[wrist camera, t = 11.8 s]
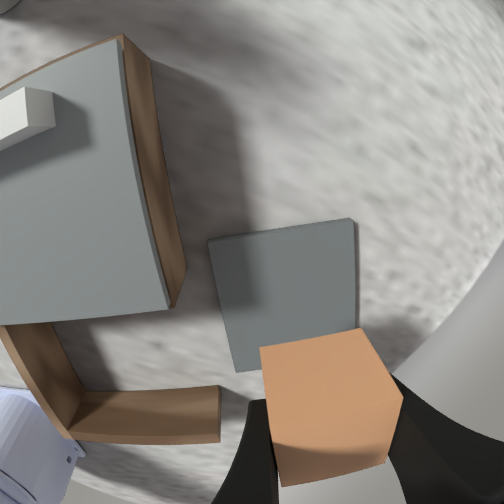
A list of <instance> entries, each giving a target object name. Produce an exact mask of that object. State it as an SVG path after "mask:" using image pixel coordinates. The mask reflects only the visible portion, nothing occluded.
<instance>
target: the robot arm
mask: <svg viewBox="0 0 504 504" xmlns="http://www.w3.org/2000/svg"><path fill="white" fill-rule="evenodd" d="M389 374H390V376H391V377H392V379H393V381H394V382H395V384H396V386H397V387H398V389H399V391H400V392H401V394H402V396H403V401H402V405H401V409H400V413H399V417H398V421H397V424H396V428H395V431H394V435H393V438H392V442H391V445H390V448H389V452H388V456H389V458H390V461H391V462H392V465H393V467H394V469H395V471H396V473H397V476H398V478H399V480H400V484H401V487H402V490H403V493H404V496H405V500H406V503H407V504H504V442H502V441H499V440H495V439H493V438H489V437H487V436H484V435H482V434H480V433H477V432H474V431H472V430H470V429H468V428H466V427H464V426H462V425H460V424H458V423H456V422H455V421H453V420H451V419H450V418H448V417H447V416H445V415H443V414H442V413H440V412H439V411H437V410H436V409H434V408H433V407H432V406H430V405H429V404H428V403H426V402H425V401H424V400H422V399H421V398H420V397H418V396H417V395H416V394H415V393H413V392H412V391H411V390H410V389H408V388H407V387H406V386H405V385H404V384H402V383H401V382H400V381H399V380H398V379H396V378H395V377H394V376H393V375H392V374H391V373H389ZM85 455H86V453H85V452H84V451H83V449H82V448H81V447H80V446H79V444H78V443H77V442H76V441H75V440H74V439H66V438H63V437H62V436H61V434H60V433H59V432H58V430H57V429H56V428H55V426H54V425H53V424H52V422H51V421H50V420H49V418H48V417H47V415H46V414H45V413H44V411H43V410H42V408H41V407H40V405H39V404H38V402H37V401H36V399H35V398H34V396H33V395H32V393H31V392H30V390H27V389H17V388H9V387H1V386H0V504H60V502H61V501H62V500H63V498H64V496H65V493H66V490H67V487H68V484H69V481H70V478H71V476H72V473H73V470H74V467H75V464H76V462H77V459H78V457H85ZM211 504H279V495H278V467H277V462H276V457H275V452H274V447H273V442H272V437H271V432H270V425H269V418H268V410H267V403H266V399H259V400H252V401H250V402H249V406H248V414H247V419H246V424H245V428H244V432H243V435H242V438H241V441H240V445H239V448H238V450H237V453H236V456H235V458H234V461H233V463H232V465H231V468H230V470H229V472H228V474H227V476H226V478H225V480H224V482H223V484H222V486H221V488H220V490H219V492H218V493H217V495H216V497H215V498H214V500H213V501H212V503H211Z"/></svg>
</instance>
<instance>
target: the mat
mask: <svg viewBox="0 0 504 504" xmlns="http://www.w3.org/2000/svg"><path fill="white" fill-rule="evenodd" d="M207 245H208V250H209V255H210V259H211V264H212V269H213V274H214V279H215V283H216V288H217V293H218V297H219V302H220V306H221V311H222V315H223V320H224V324H225V329H226V333H227V337H228V342H229V346H230V350H231V354H232V359H233V363H234V367H235V371H236V373H238V372H245V371H252V370H259V369H262V365H261V357H260V349H259V347H264V346H270V345H276V344H282V343H288V342H294V341H299V340H305V339H310V338H315V337H320V336H325V335H330V334H335V333H340V332H344V331H349V330H353V329H355V247H354V225H353V220H352V219H350V218H346V219H339V220H332V221H325V222H318V223H311V224H305V225H298V226H291V227H285V228H278V229H272V230H265V231H259V232H252V233H246V234H240V235H233V236H227V237H221V238H215V239H209V240H208V242H207Z"/></svg>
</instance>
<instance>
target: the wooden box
mask: <svg viewBox="0 0 504 504" xmlns="http://www.w3.org/2000/svg"><path fill="white" fill-rule="evenodd" d="M114 39H117V40H118V41H120V42H121V45H122V56H123V66H124V75H125V83H126V92H127V99H128V106H129V113H130V120H131V127H132V133H133V139H134V145H135V151H136V156H137V162H138V167H139V172H140V178H141V183H142V188H143V193H144V197H145V202H146V207H147V211H148V216H149V220H150V225H151V229H152V233H153V237H154V242H155V246H156V250H157V254H158V258H159V262H160V265H161V269H162V273H163V277H164V280H165V284H166V288H167V291H168V295H169V298H170V302H171V303H170V306H169V308H174V307H175V304H176V301H177V298H178V295H179V292H180V289H181V286H182V283H183V280H184V277H185V274H186V271H187V265H186V261H185V257H184V252H183V248H182V244H181V239H180V235H179V230H178V225H177V221H176V216H175V211H174V206H173V201H172V196H171V191H170V186H169V181H168V175H167V170H166V164H165V159H164V153H163V147H162V142H161V136H160V129H159V123H158V117H157V110H156V103H155V96H154V89H153V82H152V74H151V66H150V59H149V58H148V57H147V56H146V55H145V54H144V53H143V52H142V51H141V50H140V49H139V48H138V47H137V46H136V45H135V44H134V43H132V42H131V41H130V40H129V39H128V38H127V37H126V36H125V35H124V34H120V35H116V36H113V37H111V38H108V39H105V40H102V41H99V42H96V43H94V44H91V45H88V46H86V47H83V48H81V49H78V50H76V51H74V52H71V53H69V54H66V55H64V56H62V57H60V58H57V59H55V60H53V61H51V62H49V63H47V64H45V65H43V66H41V67H39V68H37V69H35V70H33V71H31V72H29V73H27V74H25V75H23V76H21V77H19V78H18V79H16V80H14V81H12V82H10V83H9V84H7V85H5V86H4V87H2V88H0V91H2V90H4V89H5V88H7V87H9V86H10V85H12V84H14V83H16V82H18V81H19V80H21V79H23V78H25V77H27V76H29V75H31V74H33V73H35V72H37V71H39V70H41V69H43V68H45V67H47V66H49V65H51V64H53V63H56V62H58V61H60V60H62V59H65V58H67V57H69V56H72V55H74V54H76V53H79V52H81V51H84V50H86V49H89V48H92V47H94V46H97V45H100V44H103V43H105V42H108V41H111V40H114ZM169 308H168V309H169ZM0 338H1V340H2V342H3V344H4V346H5V348H6V350H7V352H8V354H9V356H10V358H11V359H12V361H13V363H14V365H15V367H16V368H17V370H18V372H19V373H20V375H21V377H22V379H23V380H24V382H25V383H26V385H27V387H28V388H29V390H30V392H31V393H32V395H33V396H34V398H35V399H36V401H37V402H38V404H39V405H40V407H41V408H42V410H43V411H44V413H45V414H46V415H47V417H48V418H49V420H50V421H51V422H52V424H53V425H54V426H55V428H56V429H57V430H58V432H59V433H60V434H61V436H62V437H63V438H66V439H74V440H82V441H92V442H103V443H116V444H138V445H184V444H206V443H220V434H221V392H220V389H219V385H215V386H205V387H194V388H182V389H167V390H147V391H85V389H84V387H83V386H82V384H81V382H80V380H79V378H78V377H77V375H76V373H75V371H74V369H73V367H72V365H71V363H70V361H69V360H68V358H67V356H66V354H65V352H64V350H63V347H62V345H61V343H60V341H59V339H58V337H57V335H56V333H55V330H54V328H53V326H52V324H51V322H41V323H27V324H12V325H0Z"/></svg>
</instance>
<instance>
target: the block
mask: <svg viewBox="0 0 504 504" xmlns="http://www.w3.org/2000/svg"><path fill="white" fill-rule="evenodd" d="M259 349H260V357H261V365H262V372H263V380H264V387H265V395H266V403H267V410H268V418H269V425H270V432H271V437H272V442H273V447H274V452H275V457H276V462H277V467H278V472H279V477H280V482H281V487H286V486H292V485H298V484H304V483H309V482H314V481H319V480H324V479H328V478H333V477H337V476H341V475H345V474H348V473H352V472H356V471H359V470H363V469H367V468H369V467H373V466H377V465H380V464H383V463H385V461H386V458H387V455H388V452H389V448H390V445H391V442H392V438H393V435H394V431H395V428H396V424H397V421H398V417H399V413H400V409H401V405H402V401H403V396H402V394H401V392H400V391H399V389H398V387H397V386H396V384H395V382H394V381H393V379H392V377H391V376H390V374H389V372H388V371H387V369H386V367H385V366H384V364H383V362H382V361H381V359H380V357H379V356H378V354H377V353H376V351H375V349H374V348H373V346H372V345H371V343H370V341H369V340H368V338H367V337H366V335H365V333H364V332H363V330H362V329H361V328H358V329H353V330H349V331H344V332H340V333H335V334H330V335H325V336H320V337H315V338H310V339H305V340H299V341H294V342H288V343H282V344H276V345H270V346H264V347H259Z"/></svg>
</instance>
